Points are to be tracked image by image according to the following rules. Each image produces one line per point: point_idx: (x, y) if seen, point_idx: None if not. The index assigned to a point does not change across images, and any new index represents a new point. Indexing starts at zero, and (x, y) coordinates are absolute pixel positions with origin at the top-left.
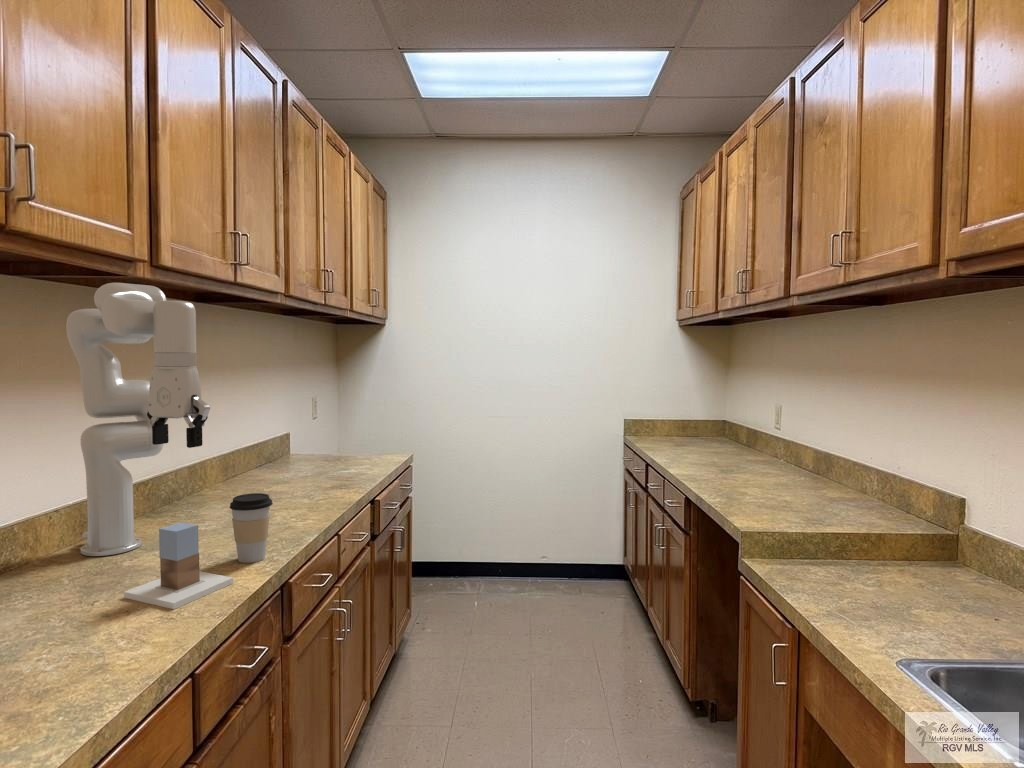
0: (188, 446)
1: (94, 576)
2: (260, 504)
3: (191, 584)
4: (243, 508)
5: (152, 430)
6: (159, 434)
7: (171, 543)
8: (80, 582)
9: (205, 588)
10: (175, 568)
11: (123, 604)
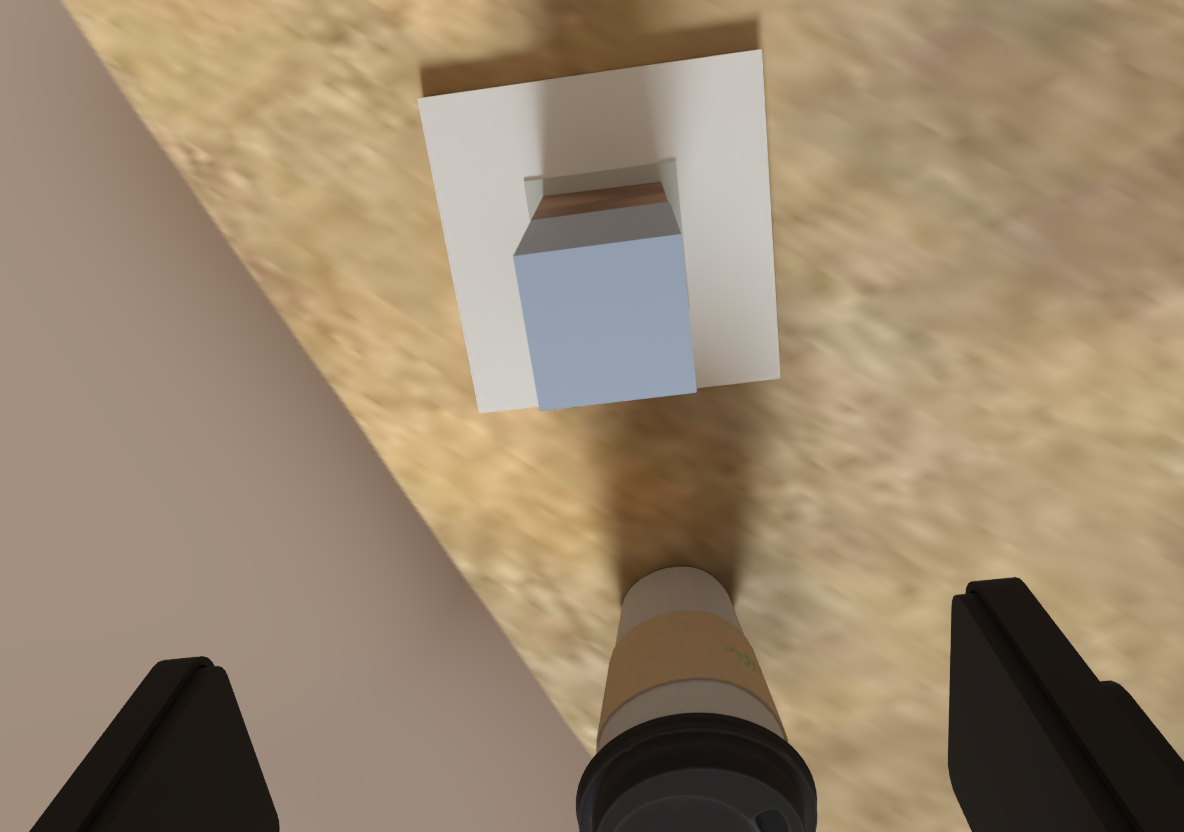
0: (158, 662)
1: (1176, 124)
2: (591, 811)
3: None
4: (636, 737)
5: (1138, 750)
6: (1014, 770)
7: (566, 232)
8: (1166, 39)
9: (462, 276)
10: (551, 212)
11: (681, 2)
